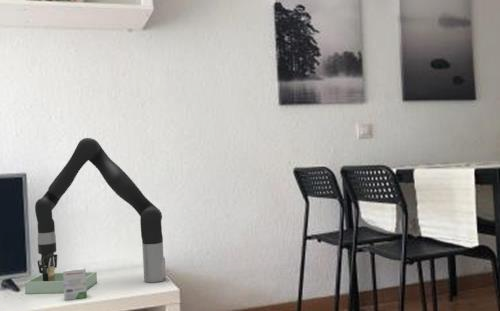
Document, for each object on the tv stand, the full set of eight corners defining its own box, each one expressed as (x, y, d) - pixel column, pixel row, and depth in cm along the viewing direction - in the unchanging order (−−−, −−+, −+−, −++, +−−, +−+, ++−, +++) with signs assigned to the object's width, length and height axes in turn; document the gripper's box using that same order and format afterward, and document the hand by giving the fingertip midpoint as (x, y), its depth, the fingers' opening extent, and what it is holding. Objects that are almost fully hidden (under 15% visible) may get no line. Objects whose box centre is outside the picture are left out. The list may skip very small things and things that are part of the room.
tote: (97, 282, 232) (96, 272, 232) (82, 292, 216) (82, 280, 216) (43, 284, 234) (42, 273, 234) (25, 293, 219) (24, 282, 219)
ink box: (87, 294, 213) (85, 266, 213) (86, 297, 208) (85, 269, 208) (65, 297, 211) (64, 268, 210) (64, 300, 206) (62, 271, 206)
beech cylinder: (56, 280, 228) (56, 265, 228) (51, 283, 223) (50, 267, 223) (46, 281, 228) (45, 265, 228) (40, 283, 224) (39, 268, 223)
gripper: (47, 245, 218) (49, 284, 218) (62, 239, 232) (64, 276, 233) (30, 245, 219) (32, 284, 219) (46, 239, 233) (48, 276, 233)
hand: (48, 280), depth 226 cm, fingers closed on beech cylinder, 5 cm apart
